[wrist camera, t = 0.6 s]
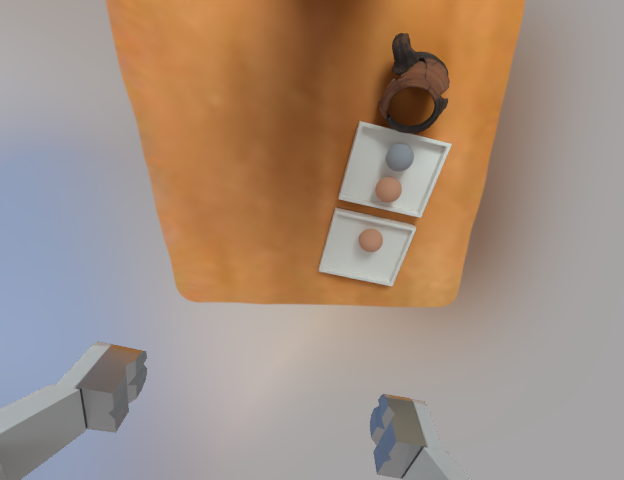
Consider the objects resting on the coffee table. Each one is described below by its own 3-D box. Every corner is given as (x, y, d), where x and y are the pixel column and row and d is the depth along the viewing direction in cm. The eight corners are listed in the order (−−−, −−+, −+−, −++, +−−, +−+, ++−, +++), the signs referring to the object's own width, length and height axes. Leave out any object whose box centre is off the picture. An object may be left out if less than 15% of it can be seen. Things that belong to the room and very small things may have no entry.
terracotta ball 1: (361, 222, 51) (364, 232, 47) (383, 227, 51) (388, 237, 48) (354, 242, 53) (357, 253, 49) (376, 247, 53) (380, 258, 49)
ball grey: (388, 139, 45) (394, 142, 41) (413, 145, 45) (421, 149, 42) (379, 165, 47) (384, 170, 43) (404, 170, 47) (411, 177, 43)
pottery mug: (458, 91, 43) (459, 123, 38) (395, 118, 49) (390, 149, 44) (430, 4, 36) (427, 29, 32) (361, 47, 42) (350, 74, 37)
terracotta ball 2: (377, 171, 47) (382, 177, 43) (401, 177, 47) (408, 183, 44) (370, 195, 49) (374, 203, 45) (393, 200, 49) (399, 208, 46)
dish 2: (335, 206, 50) (335, 210, 49) (413, 224, 52) (416, 228, 50) (318, 266, 56) (318, 271, 54) (390, 281, 57) (392, 286, 55)
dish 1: (358, 120, 44) (360, 121, 43) (447, 142, 46) (451, 144, 44) (338, 195, 50) (338, 199, 48) (417, 213, 51) (420, 217, 49)
